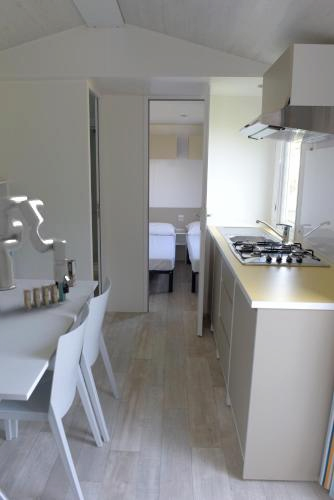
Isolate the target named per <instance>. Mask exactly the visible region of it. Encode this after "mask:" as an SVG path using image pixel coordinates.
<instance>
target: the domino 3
mask: <svg viewBox="0 0 334 500" xmlns="http://www.w3.org/2000/svg"><path fill="white" fill-rule="evenodd" d="M49 292H50V289H49V286H47V285H45V284H43V285H41V302H42V303H43V304H45V305H49V300H50V293H49Z"/></svg>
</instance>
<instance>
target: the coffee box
mask: <svg viewBox="0 0 334 500" xmlns="http://www.w3.org/2000/svg"><path fill="white" fill-rule="evenodd" d="M76 266H77V265H76V259H68V264H67V267H68V276H69V280H70V282H69V287H75V285H77V273H76V272H77V270H76ZM65 284H66V283H65Z"/></svg>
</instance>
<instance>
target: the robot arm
mask: <svg viewBox="0 0 334 500" xmlns="http://www.w3.org/2000/svg"><path fill="white" fill-rule="evenodd" d="M44 210H45V205H44V203H43V201H42V200H41V199H39V198H37V197H33V196H30V195H26V194H18V195H6V196H2V197H0V291H7V290H8V291H9V290H13V289H15V288H17V287H18V284H17V282H15V274H14V273H15V272H14V262H13V258H12V257H13V256H11V255H10V253H11V252H15V251H18V250H20V249H21V247H22V245H23V238H24V225H23V222H22V221H21V220H20V219H15V218H14V213H13V211H20V213H21V214H22V216H23V217H24V220H25V221H26V222H27V224H28V226H29V240H30V243H31V244H32V246H33V248H34V249H35V251H36V252H37V253H39V254H46V253H49V252H52V254H53V270H52V271H53V275H52V276H53V277H52V278H53V280H54V284H55V285H57V290H59V289H58V282H59V283H63V286H64V287H63V293H64V294H65V293H66V294H69V293H70V289H69V288H70V286H69V282H70V280H69V276H68V267H67V264H68V260H69V259H68V243H67V240H66V239H62V238H61V239H60V238H57V237H49V238H42V237H41V236H40V233H39V228H41V227H42V226H43V225H44V223H45V220H44V218H43V216H42V215H41V213H42V212H43V211H44ZM65 283H66V284H65Z"/></svg>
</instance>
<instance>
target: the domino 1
mask: <svg viewBox="0 0 334 500" xmlns="http://www.w3.org/2000/svg"><path fill="white" fill-rule="evenodd" d="M31 294H32V293H31V290H30V289H28V288H23V302H24V303H23V304H24V305H23V306H24V307H25V308H27V309H28V310H29V309H32V308H31V304H32V296H31Z"/></svg>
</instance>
